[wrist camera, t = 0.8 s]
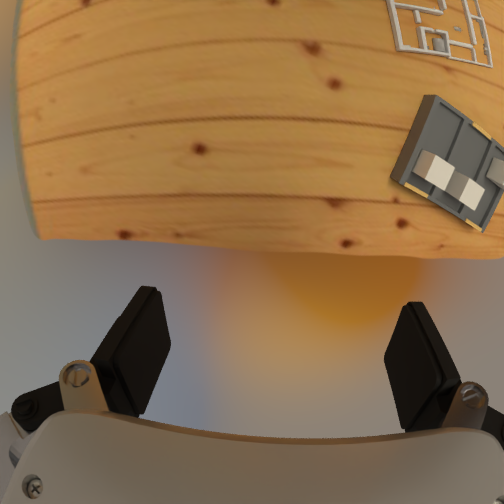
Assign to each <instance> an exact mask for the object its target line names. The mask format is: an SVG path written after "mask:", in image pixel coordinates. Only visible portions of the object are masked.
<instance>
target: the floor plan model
mask: <svg viewBox="0 0 504 504" xmlns="http://www.w3.org/2000/svg"><path fill="white" fill-rule="evenodd" d="M437 1H438V4H439V8H440V10H441V11H440V10H436V9H431V8H426V7H420V6H415V5H408V4H402V3H394V0H386V2H387V7H388V11H389V15H390V20H391V25H392V30H393V35H394V40H395V46H396V51H405V52H415V53H423V54H430V55H437V56H443V57H447V59H452V60H457V61H462V62H467V63H472V64H476V65H481V66H485V67H489V68H493V64H492V58H491V52H490V45H489V40H488V35H487V31H486V26H485V22H484V17H482V16H481V12H480V8H479V5H478V1H477V0H474V3H475V6H476V10H477V14H478V16H474V15H471V13H470V12H469V8H468V4H467V1H466V0H461V2H462V6H463V10H464V14H465V18H466V22H467V26H468V31H469V36H470V41H471V44H473V45H476V44H477V42H476V37H475V32H474V27H473V23H472V19H475V20H476V21H477V22H479V25H480V30H481V35H482V38H483V39H484V43H485V44H483V45H484V47H483V49H484V50H485V51H484V55H487V60H488V65H486V64H482V63H478V62H477V59H476V53H475V49H474V48H473V45H471V44H467V43H462V42H458V41H453V40H448V39H449V35H448V31H443V30H438V29H435V30H433V28H428V27H422V26H420V27H418V28H416V30H417V36H418V41H419V47H420V49H419V48H410V47H411V46H410V45H403V42H402V36H401V31H400V26H399V21H398V17H397V12H396V8H402V9H408V10H414V11H413V14H414V19H415V23H421V18H420V14H419V12H424V13H429V14H433V15H438V16H440V15H442V14H443V11H444V10H446V9H447V7H446V3H445V0H437ZM434 8H435V7H434ZM471 18H472V19H471ZM454 29H455V30H457V31H461V28H458V27H454ZM462 31H463V30H462ZM425 32H427V33H433V34H439V35H441V37H442V39H441V38H433V39H432V41H433V47H434V51H433V50H428V49H429V46H427V42H426V37H425ZM449 44H450V45H455V46H460V47H464V48H469V49H470V50H471V56H472V61H470V60H465V59H460V58H455V57H450V56H451V52H450V46H449Z"/></svg>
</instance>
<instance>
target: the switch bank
mask: <svg viewBox="0 0 504 504" xmlns="http://www.w3.org/2000/svg"><path fill="white" fill-rule="evenodd" d="M421 149H423V150H425V151H428V152H430V153H433V154H435V155H437V156H438V157H440V158H442V159H443V160H445V161H446V162H448V163H449V164H451V165H452V166H453V167H455V169H454V170H455V171H457V172H459V173H461V174H463V175H465V176H467V177H469V178H470V179H472V180H473V181H474V182H476V183H477V184H478V185H480V186H481V187H482V188H484V189H485V191H484V193H483V195H482V197H481V199H480V201H479V203H478V205H477V207H476V209H475V211H474V210H472V209H471V208H470V207H468V206H467V205H465V204H464V203H462V202H461V201H459V200H458V199H456V198H455V197H453V196H452V195H450V194H449V193H447V192H446V191H444V190H442V189H440V188H439V187H437V186H436V185H434V184H432V183H431V182H429V181H427V180H426V179H424V178H422V177H421V176H419V175H417V174H416V173H414V172H412V171H411V170H412V168H413V166H414V164H415V162H416V160H417V157H418V155H419V153H420V150H421ZM494 157H495V158H497V159H500V160H502V161H504V148H503V147H502V146H501V145H500V144H499V143H498V142H497V141H495V140H494V139H493V138H492V137H491V136H490V135H489V134H488V133H487V132H486V131H484V130H483V129H482V128H481V127H480V126H478V125H477V124H476V123H475V122H473V121H472V120H470V119H469V118H468V117H466V116H465V115H464V114H463V113H461V112H460V111H459V110H457V109H456V108H454V107H453V106H452V105H450V104H449V103H447V102H446V101H445V100H443V99H442V98H440V97H439V96H437V95H424V98H423V100H422V103H421V105H420V108H419V111H418V113H417V116H416V118H415V120H414V123H413V125H412V128H411V130H410V133H409V135H408V137H407V140H406V142H405V144H404V147H403V149H402V151H401V153H400V156H399V158H398V160H397V162H396V164H395V167H394V169H393V171H392V173H391V175H390V177H392V178H393V179H394V180H396V181H397V182H398V183H400V184H402V185H404V186H405V187H407V188H409V189H411V190H413V191H415V192H416V193H418V194H420V195H422V196H423V197H425V198H427V199H429V200H431V201H432V202H434V203H436V204H437V205H439V206H441V207H442V208H444V209H446V210H447V211H449V212H451V213H452V214H454V215H456V216H457V217H459V218H460V219H462V220H463V221H465V222H466V223H468V224H469V225H471V226H472V227H474V228H475V229H477V230H478V231H480V232H482V233H483V232H484V230H485V228H486V227H487V225H488V223H489V221H490V219H491V217H492V215H493V213H494V211H495V209H496V207H497V205H498V203H499V200H500V198H501V196H502V194H503V192H504V189H502V188H500V187H499V186H497V185H496V184H495V183H494V182H492V181H491V180H490V179H489V178H487V177H486V175H487V172H488V170H489V168H490V165H491V163H492V160H493V158H494Z"/></svg>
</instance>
